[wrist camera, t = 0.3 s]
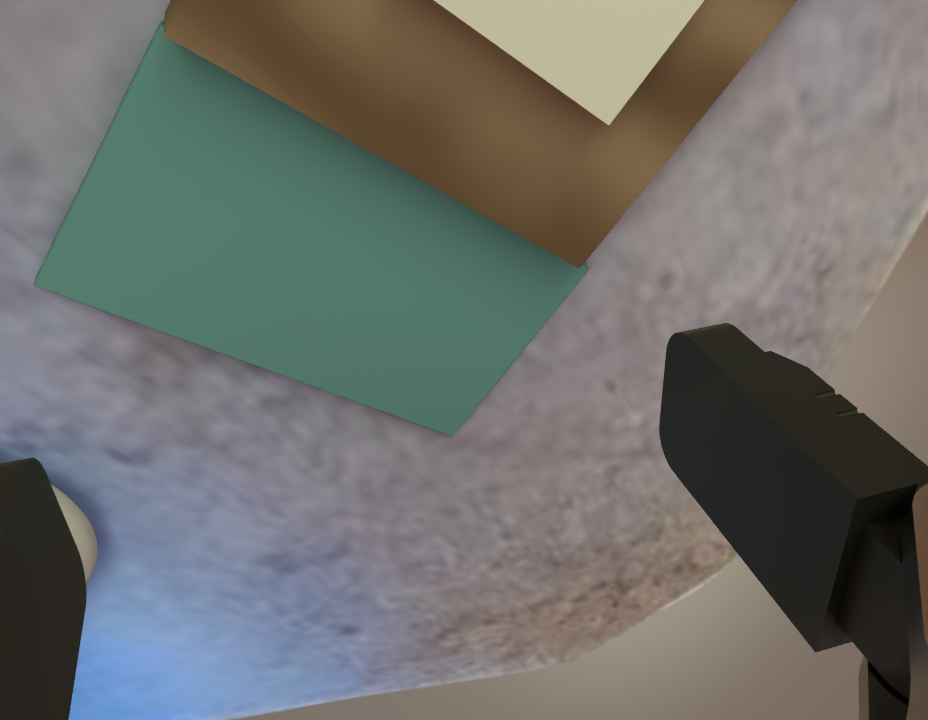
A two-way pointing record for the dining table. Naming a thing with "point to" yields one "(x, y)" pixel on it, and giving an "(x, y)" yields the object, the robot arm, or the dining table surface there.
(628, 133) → the brown wooden board
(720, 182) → the dining table surface
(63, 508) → the flower in vase
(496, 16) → the tile
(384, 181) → the mat
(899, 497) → the robot arm
